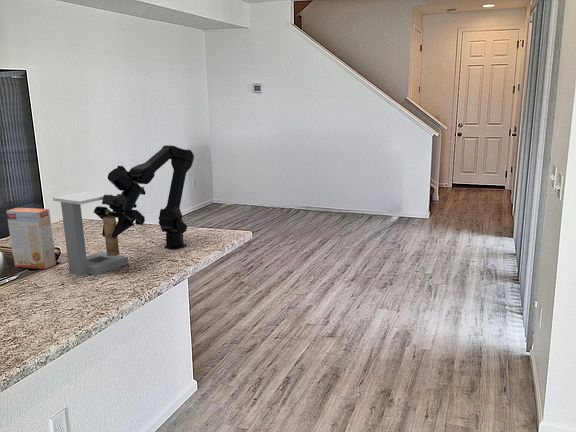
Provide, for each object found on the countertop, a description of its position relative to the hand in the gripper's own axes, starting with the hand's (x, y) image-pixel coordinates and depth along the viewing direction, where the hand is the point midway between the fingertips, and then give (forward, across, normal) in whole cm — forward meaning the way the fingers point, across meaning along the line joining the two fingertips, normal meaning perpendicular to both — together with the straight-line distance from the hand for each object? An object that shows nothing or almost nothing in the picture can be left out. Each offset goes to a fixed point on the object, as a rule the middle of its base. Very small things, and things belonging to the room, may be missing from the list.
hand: (108, 236), depth 176 cm
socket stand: (+8, -10, +11) cm, 17 cm away
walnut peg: (+4, 0, +6) cm, 7 cm away
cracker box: (+13, -32, +6) cm, 35 cm away
